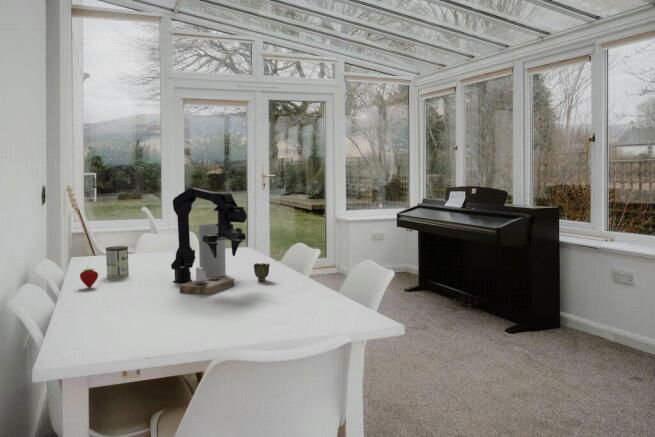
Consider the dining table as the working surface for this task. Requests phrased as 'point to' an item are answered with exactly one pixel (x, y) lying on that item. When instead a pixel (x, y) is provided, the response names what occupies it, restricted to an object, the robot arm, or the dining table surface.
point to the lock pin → (201, 276)
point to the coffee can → (117, 261)
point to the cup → (261, 271)
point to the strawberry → (89, 277)
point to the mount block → (207, 286)
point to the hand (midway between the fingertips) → (224, 257)
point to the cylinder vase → (206, 258)
